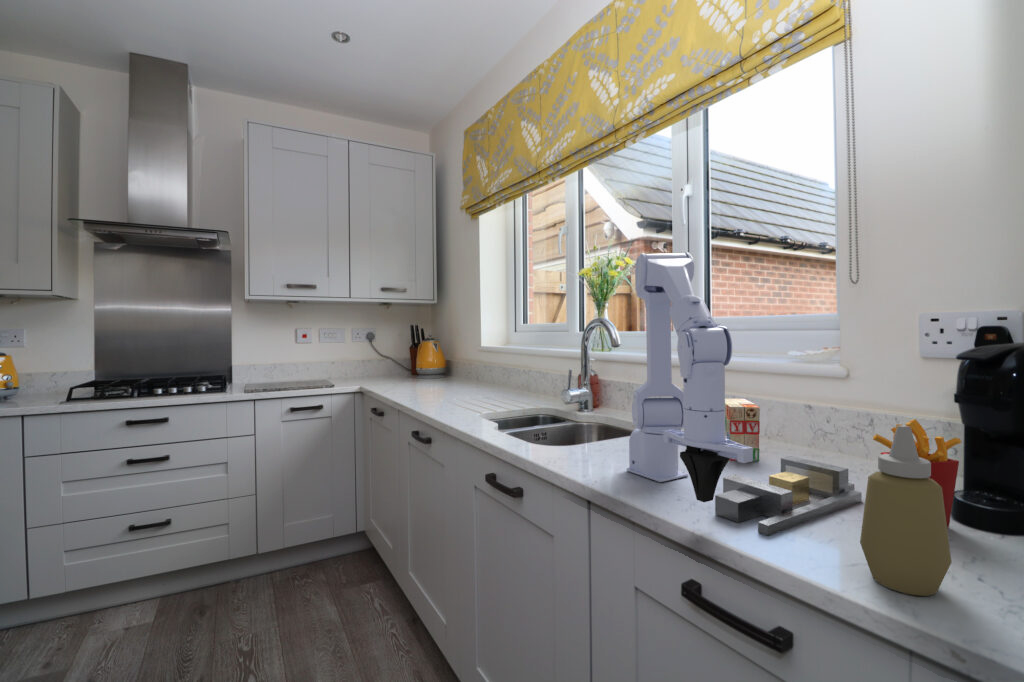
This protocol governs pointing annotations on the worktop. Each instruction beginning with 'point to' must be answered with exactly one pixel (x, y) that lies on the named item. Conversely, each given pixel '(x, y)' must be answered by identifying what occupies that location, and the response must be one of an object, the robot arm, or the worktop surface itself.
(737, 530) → the worktop surface
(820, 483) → the vise
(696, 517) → the worktop surface
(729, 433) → the stack of blocks
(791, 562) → the worktop surface
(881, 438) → the french fries
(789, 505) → the sliding jaw
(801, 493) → the brass block
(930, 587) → the squeeze bottle
